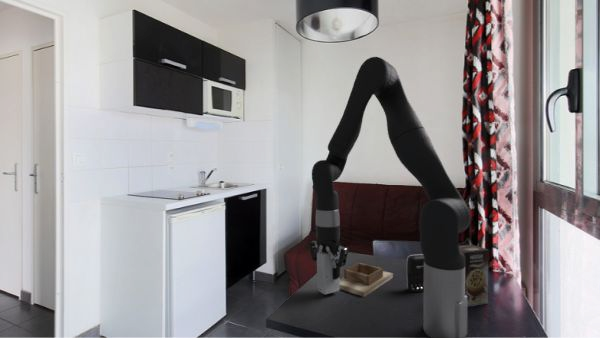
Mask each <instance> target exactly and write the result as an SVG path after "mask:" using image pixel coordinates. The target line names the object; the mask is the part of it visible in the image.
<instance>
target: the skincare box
mask: <svg viewBox="0 0 600 338" xmlns="http://www.w3.org/2000/svg"><path fill="white" fill-rule="evenodd" d="M338 254H339V252H338ZM336 255H337V254H335V255H334V256H333V257H335V256H336ZM339 255H340V254H339ZM333 268H334V267H333V264H332V261H330V258H329V254H327V253H323V252H322V253H319V252H318V253H317V262H316V277H317V279H316V287H317V288H316V290H317V291H318V292H319V293H321V294H323V295H329V294H332V293H335V292H336V293H337V292H339V291H340V290H341V289H340V283H339V279H340V277H339V278H338V279H336V280H335V279H333Z"/></svg>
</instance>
